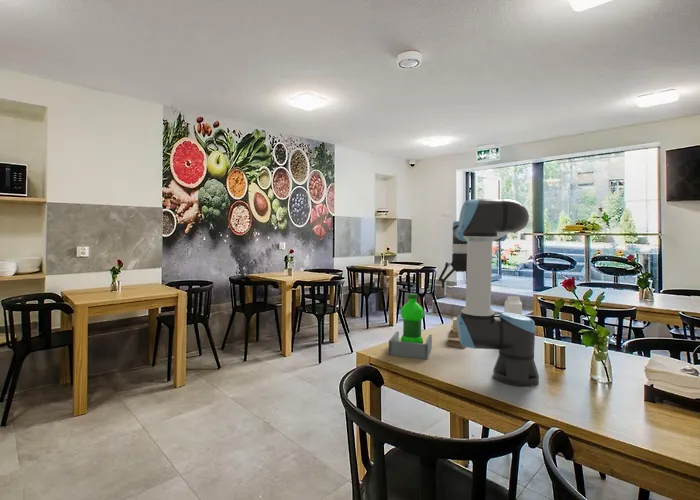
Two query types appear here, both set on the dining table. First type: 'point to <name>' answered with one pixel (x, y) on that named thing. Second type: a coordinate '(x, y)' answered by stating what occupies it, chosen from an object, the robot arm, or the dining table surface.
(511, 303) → the milk
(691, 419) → the dining table surface
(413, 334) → the plastic bottle
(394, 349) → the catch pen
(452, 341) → the scraper
